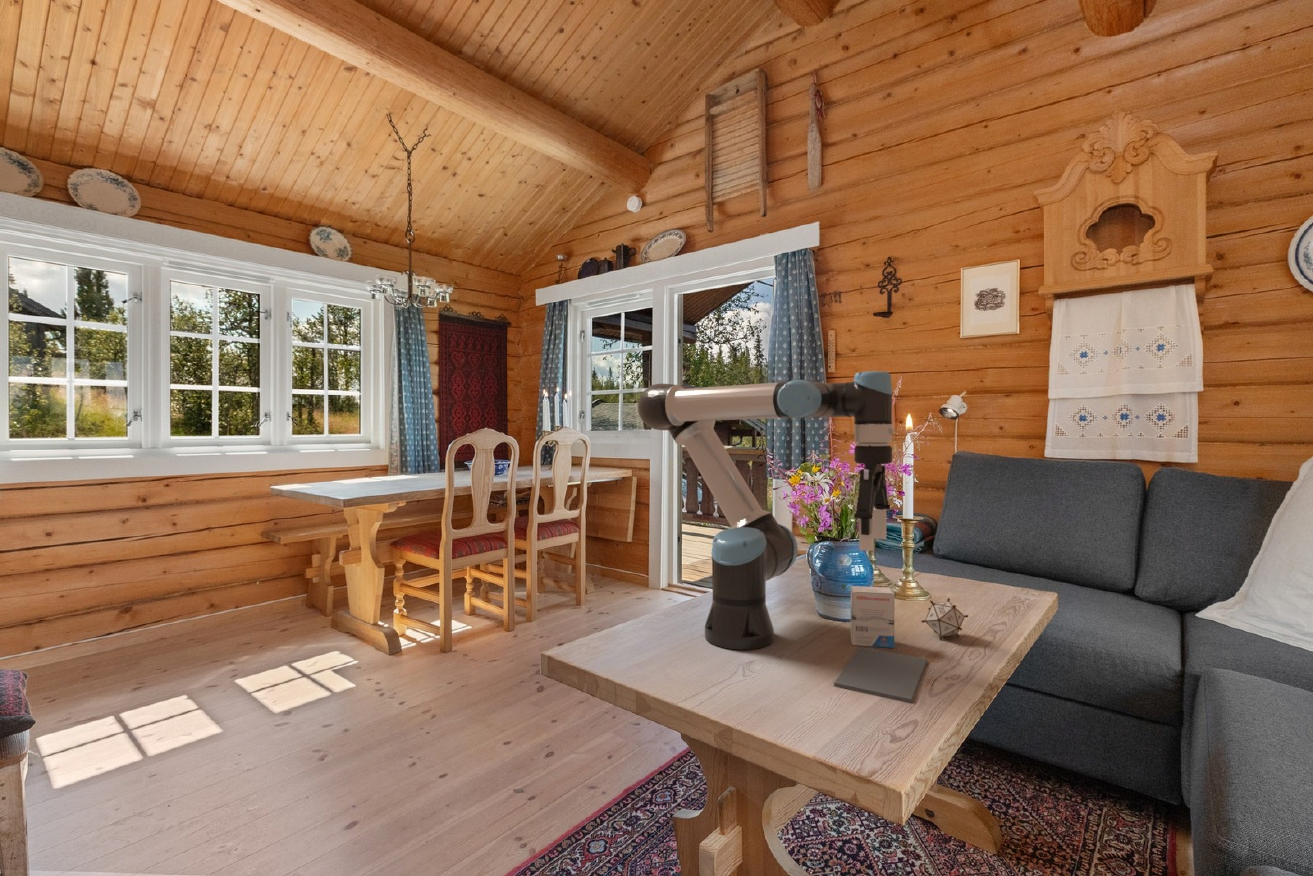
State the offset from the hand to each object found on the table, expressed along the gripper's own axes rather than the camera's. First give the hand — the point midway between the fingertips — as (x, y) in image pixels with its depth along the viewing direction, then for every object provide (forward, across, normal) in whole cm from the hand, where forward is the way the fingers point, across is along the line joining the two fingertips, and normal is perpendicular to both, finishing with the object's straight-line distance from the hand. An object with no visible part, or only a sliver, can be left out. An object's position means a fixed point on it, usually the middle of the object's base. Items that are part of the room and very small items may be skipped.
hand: (873, 544), depth 130 cm
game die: (+22, +12, -13) cm, 28 cm away
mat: (+21, -15, -5) cm, 27 cm away
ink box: (+22, 0, 0) cm, 22 cm away
